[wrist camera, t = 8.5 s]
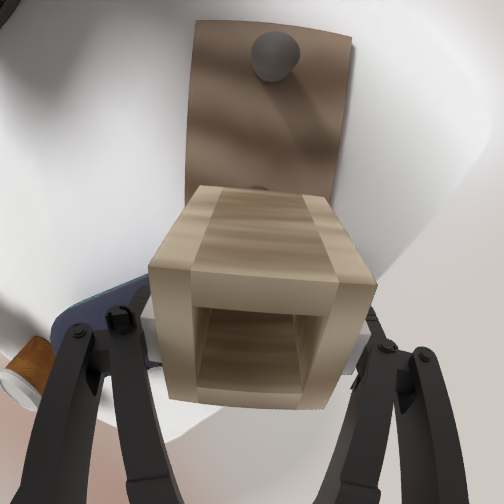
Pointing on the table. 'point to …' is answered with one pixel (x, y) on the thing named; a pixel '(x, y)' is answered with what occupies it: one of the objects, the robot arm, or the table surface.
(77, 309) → the portable speaker
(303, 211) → the maple collar
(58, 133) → the table surface
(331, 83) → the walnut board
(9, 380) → the disposable coffee cup
